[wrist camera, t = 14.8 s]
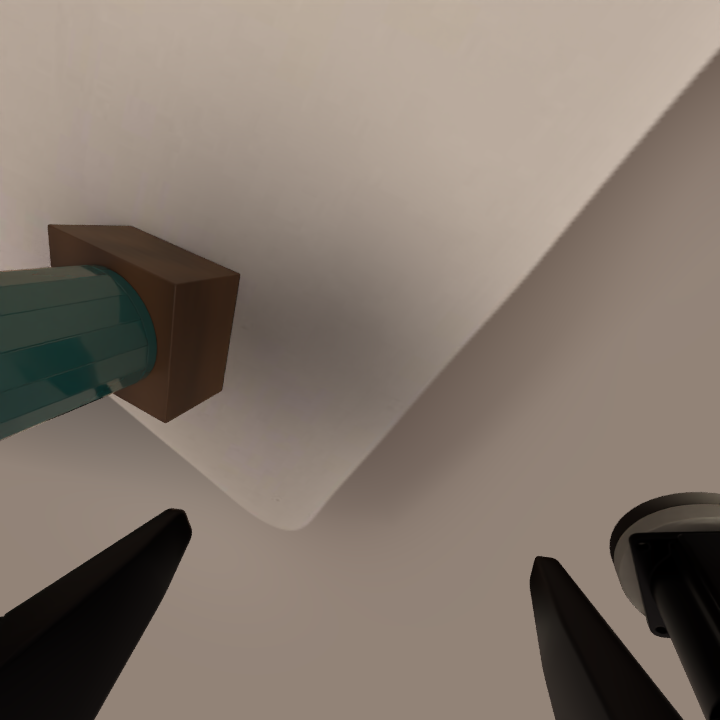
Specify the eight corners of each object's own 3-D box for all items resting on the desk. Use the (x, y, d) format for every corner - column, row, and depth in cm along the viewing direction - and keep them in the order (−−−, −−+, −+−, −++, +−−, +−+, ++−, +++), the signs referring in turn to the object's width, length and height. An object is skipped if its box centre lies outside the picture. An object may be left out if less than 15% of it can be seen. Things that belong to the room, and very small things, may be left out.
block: (240, 273, 22) (176, 284, 17) (222, 391, 26) (165, 424, 21) (131, 225, 23) (46, 223, 19) (129, 342, 27) (58, 363, 23)
